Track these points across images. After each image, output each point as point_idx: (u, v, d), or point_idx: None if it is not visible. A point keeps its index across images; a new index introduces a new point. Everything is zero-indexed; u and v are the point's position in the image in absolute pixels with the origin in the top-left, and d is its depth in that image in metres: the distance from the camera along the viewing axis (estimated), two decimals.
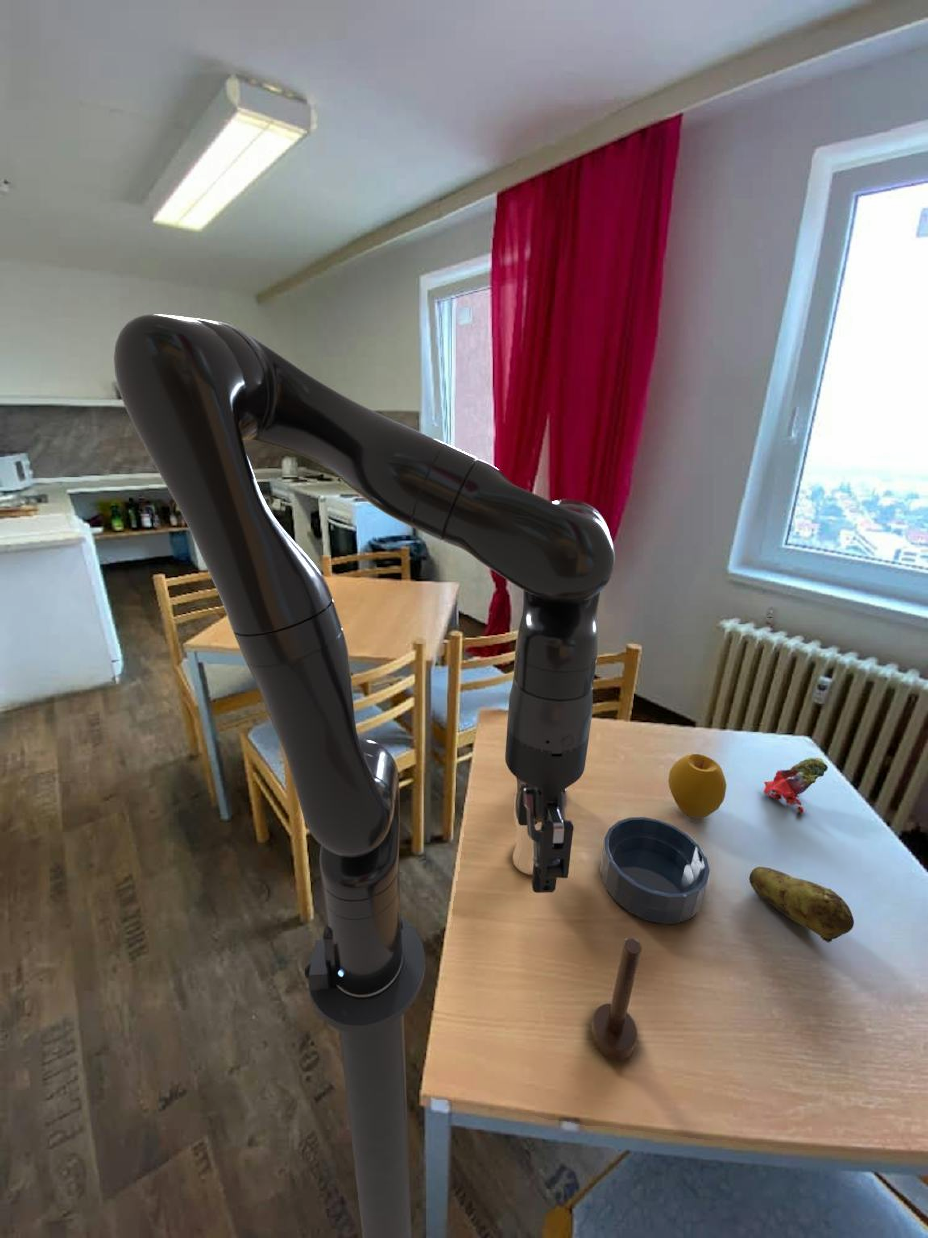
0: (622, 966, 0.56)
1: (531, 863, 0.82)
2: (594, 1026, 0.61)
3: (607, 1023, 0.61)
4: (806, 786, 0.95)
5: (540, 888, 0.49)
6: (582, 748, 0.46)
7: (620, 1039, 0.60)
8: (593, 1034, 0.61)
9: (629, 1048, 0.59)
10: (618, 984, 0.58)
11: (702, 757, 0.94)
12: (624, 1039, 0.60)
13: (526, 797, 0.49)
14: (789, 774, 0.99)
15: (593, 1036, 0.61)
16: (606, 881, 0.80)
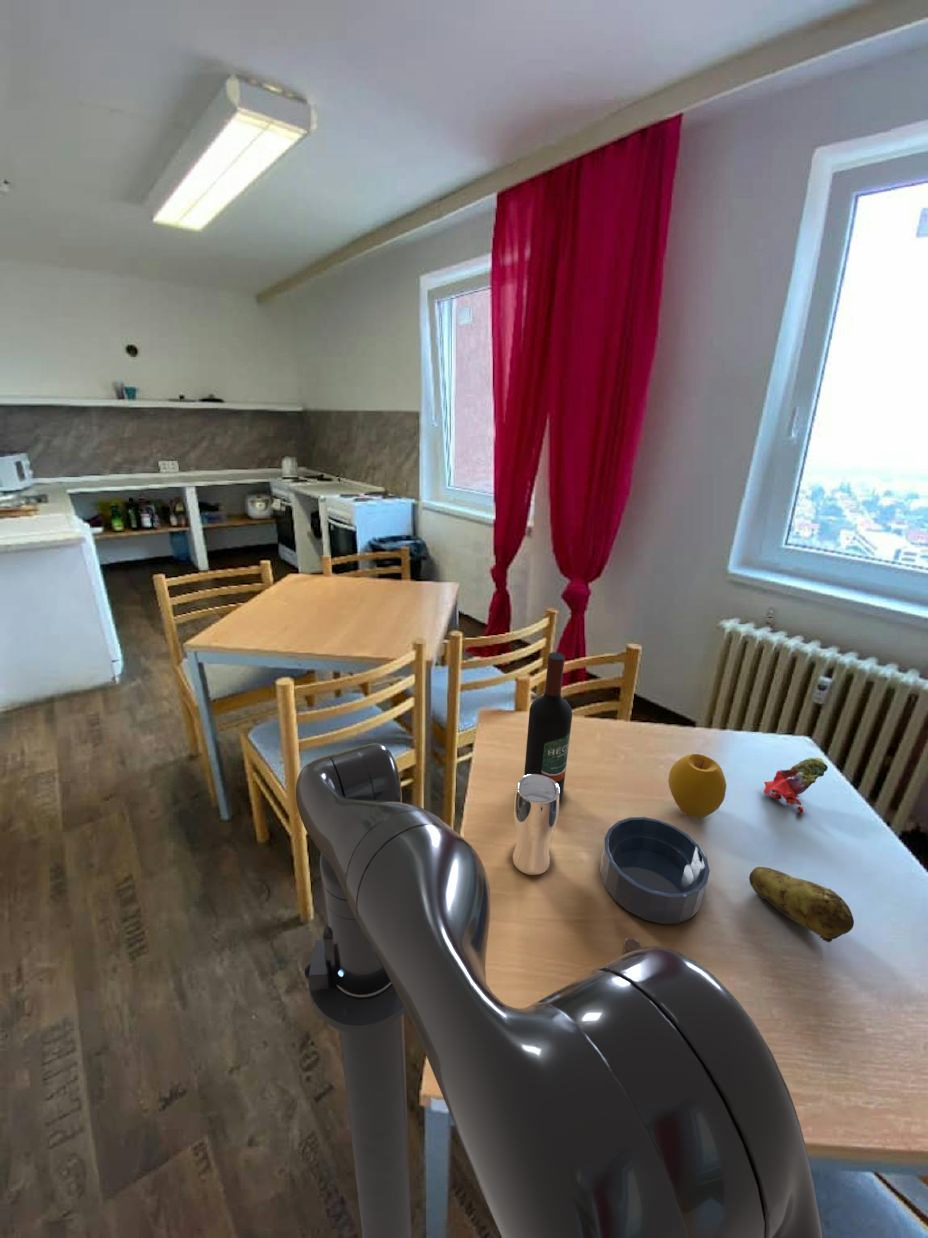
0: None
1: (531, 863, 0.82)
2: None
3: None
4: (806, 786, 0.95)
5: None
6: None
7: None
8: None
9: None
10: None
11: (702, 757, 0.94)
12: None
13: None
14: (789, 774, 0.99)
15: None
16: (606, 881, 0.80)
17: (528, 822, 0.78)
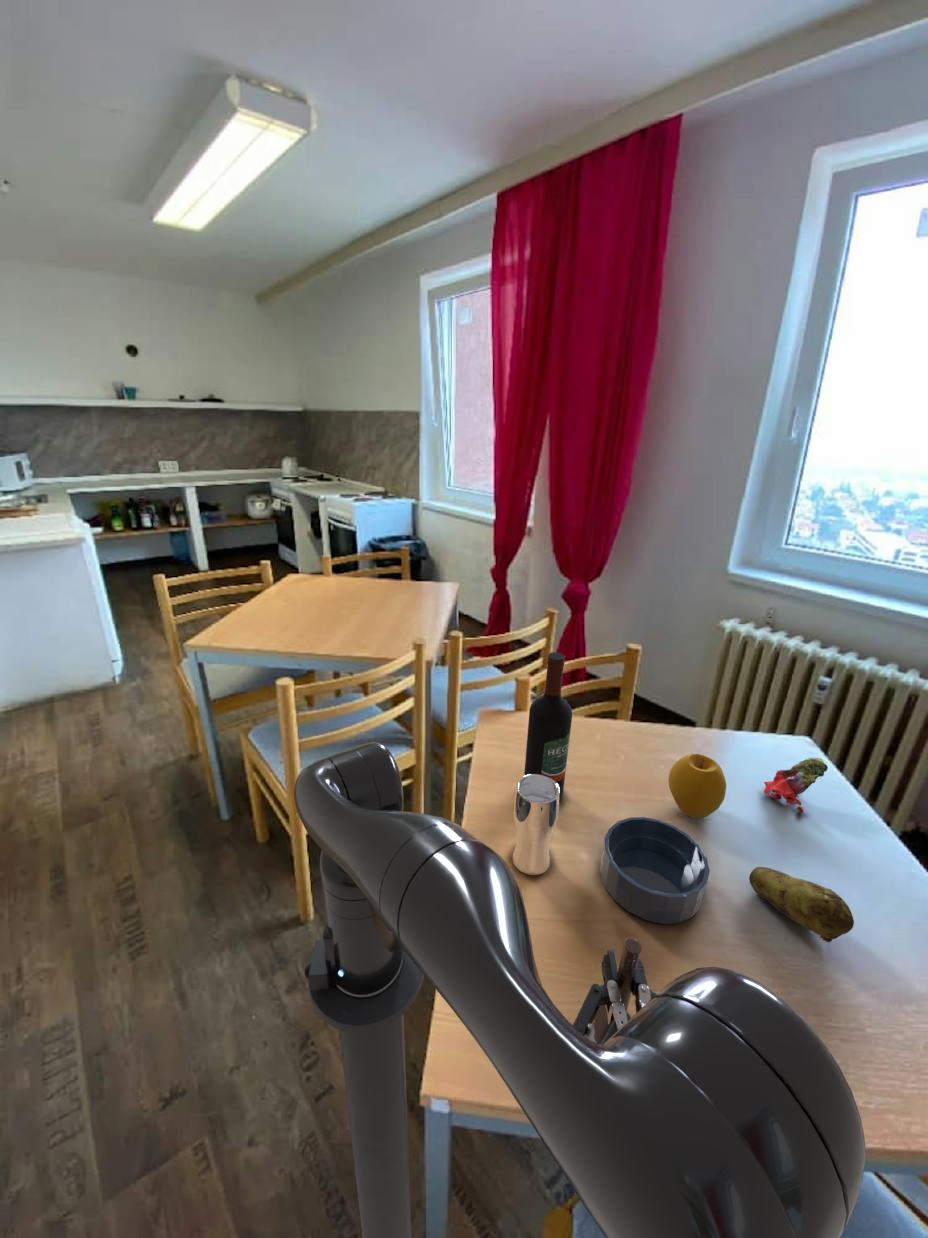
0: (622, 966, 0.56)
1: (531, 863, 0.82)
2: (594, 1026, 0.61)
3: (607, 1023, 0.61)
4: (806, 786, 0.95)
5: (603, 962, 0.59)
6: None
7: None
8: None
9: None
10: None
11: (702, 757, 0.94)
12: None
13: None
14: (789, 774, 0.99)
15: None
16: (606, 881, 0.80)
17: (528, 822, 0.78)
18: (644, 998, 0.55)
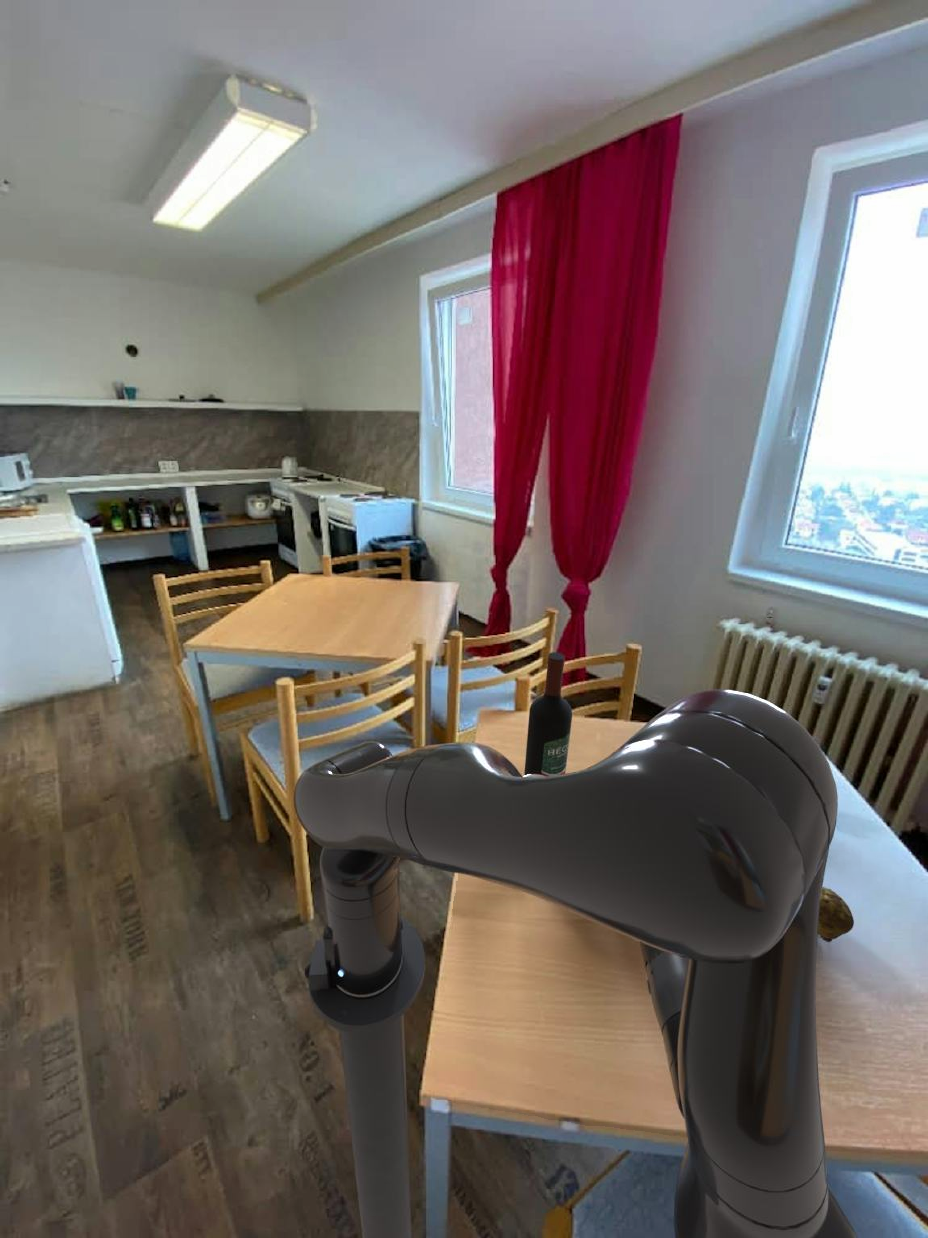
0: None
1: None
2: None
3: None
4: None
5: None
6: None
7: None
8: None
9: None
10: None
11: None
12: None
13: None
14: None
15: None
16: None
17: None
18: None
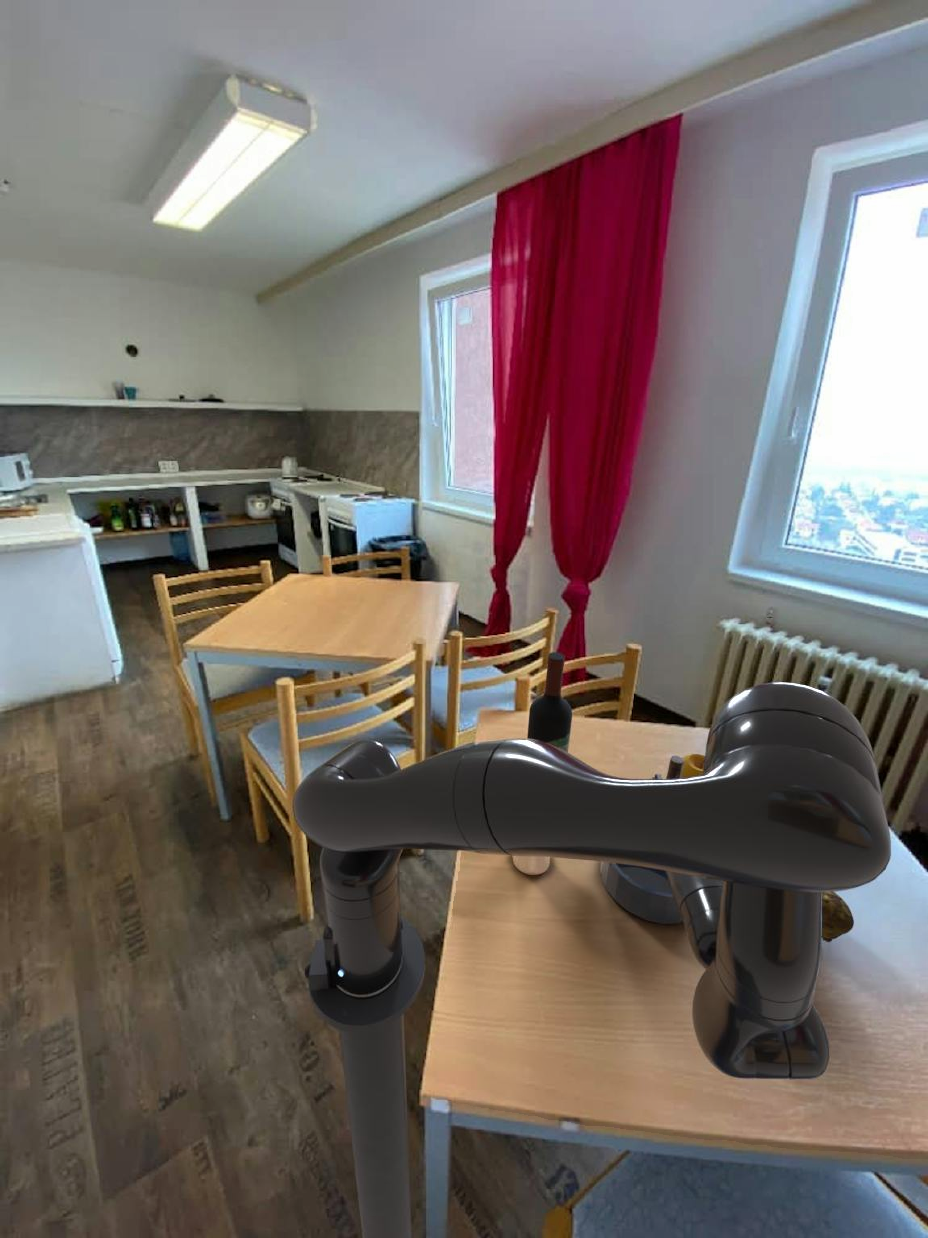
0: (669, 777, 0.73)
1: (531, 863, 0.82)
2: None
3: None
4: None
5: None
6: None
7: None
8: None
9: None
10: None
11: (702, 757, 0.94)
12: None
13: None
14: None
15: None
16: (606, 881, 0.80)
17: None
18: None
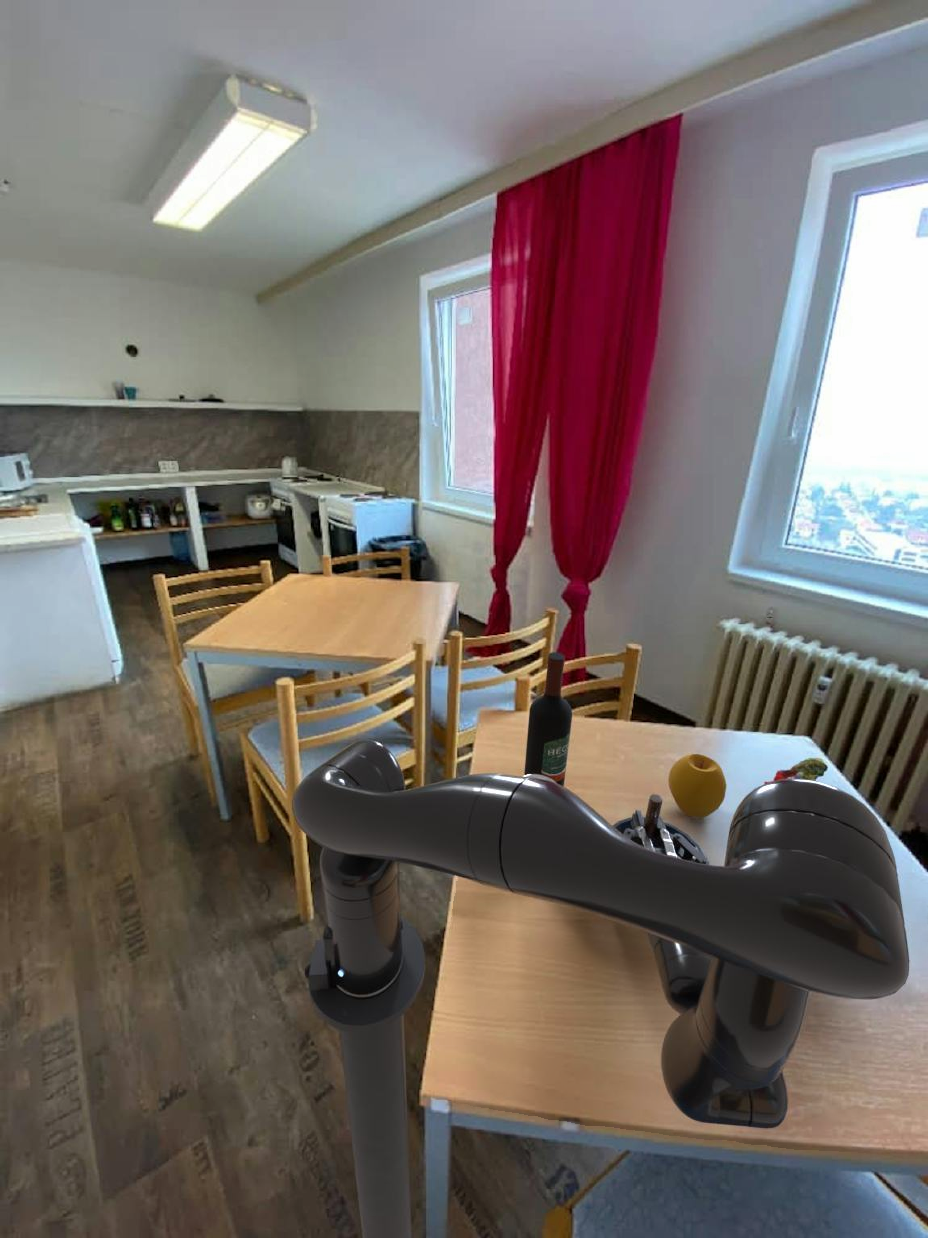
0: (648, 815, 0.76)
1: None
2: None
3: None
4: None
5: (632, 817, 0.79)
6: None
7: None
8: None
9: None
10: None
11: (702, 757, 0.94)
12: None
13: None
14: (789, 774, 0.99)
15: None
16: None
17: None
18: (664, 836, 0.75)
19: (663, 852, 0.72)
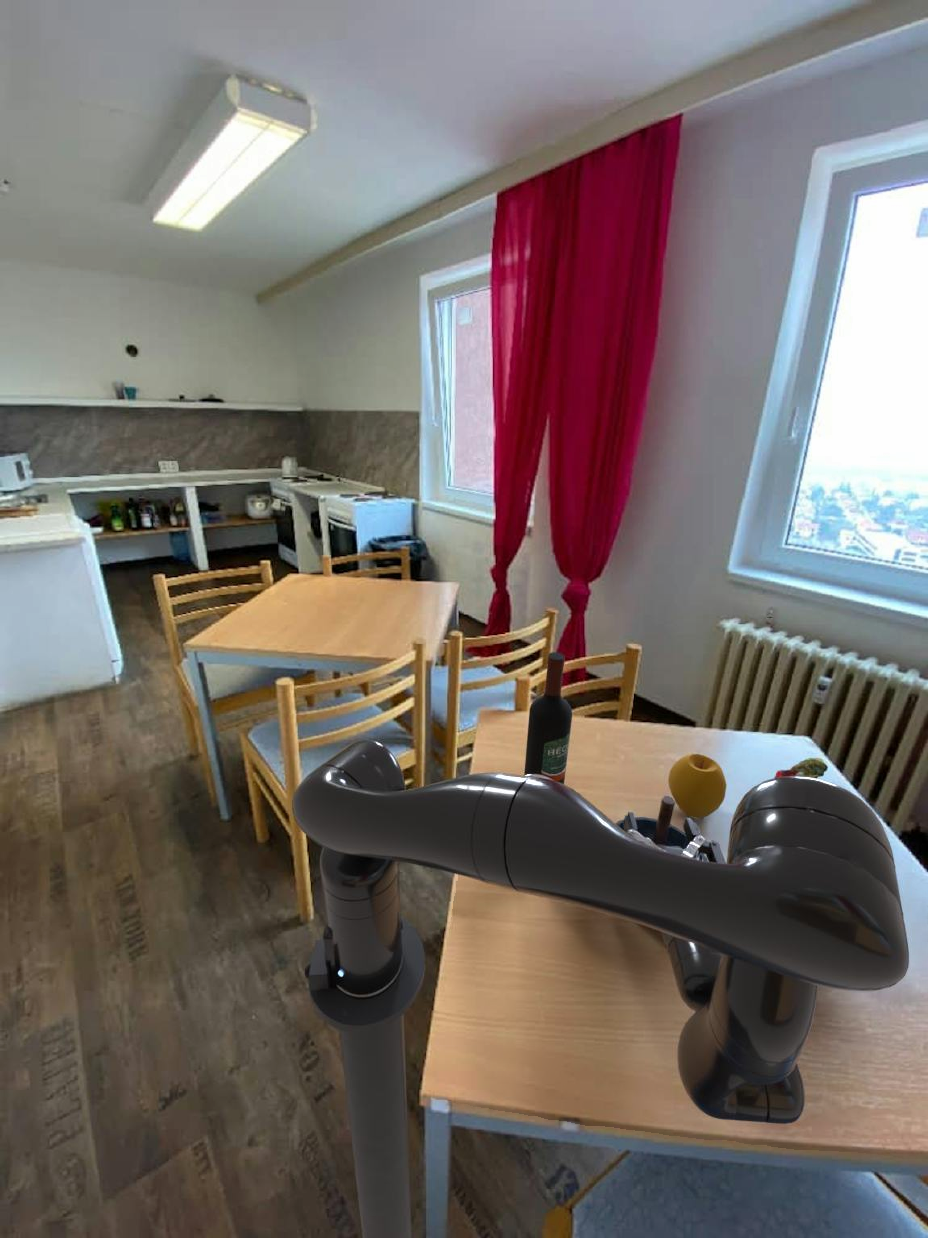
0: (660, 816, 0.76)
1: None
2: None
3: None
4: None
5: (624, 819, 0.78)
6: None
7: None
8: None
9: None
10: (657, 832, 0.77)
11: (702, 757, 0.94)
12: None
13: None
14: (789, 774, 0.99)
15: None
16: None
17: None
18: (697, 841, 0.74)
19: (675, 850, 0.73)
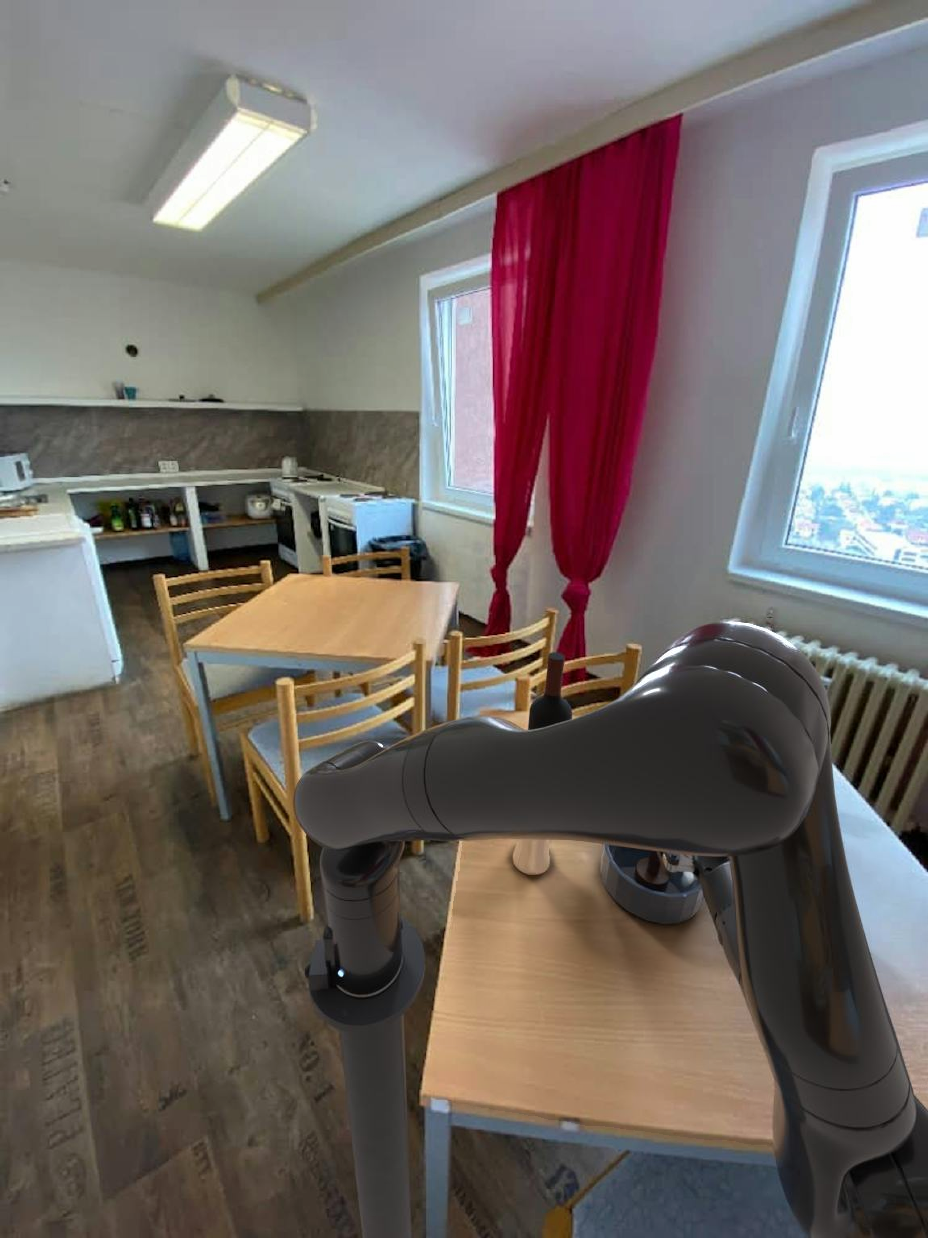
0: None
1: (531, 863, 0.82)
2: (637, 870, 0.81)
3: (647, 868, 0.81)
4: None
5: None
6: None
7: (657, 878, 0.80)
8: (636, 876, 0.81)
9: (665, 883, 0.79)
10: None
11: None
12: (660, 878, 0.80)
13: None
14: None
15: (636, 878, 0.81)
16: (606, 881, 0.80)
17: None
18: None
19: None
